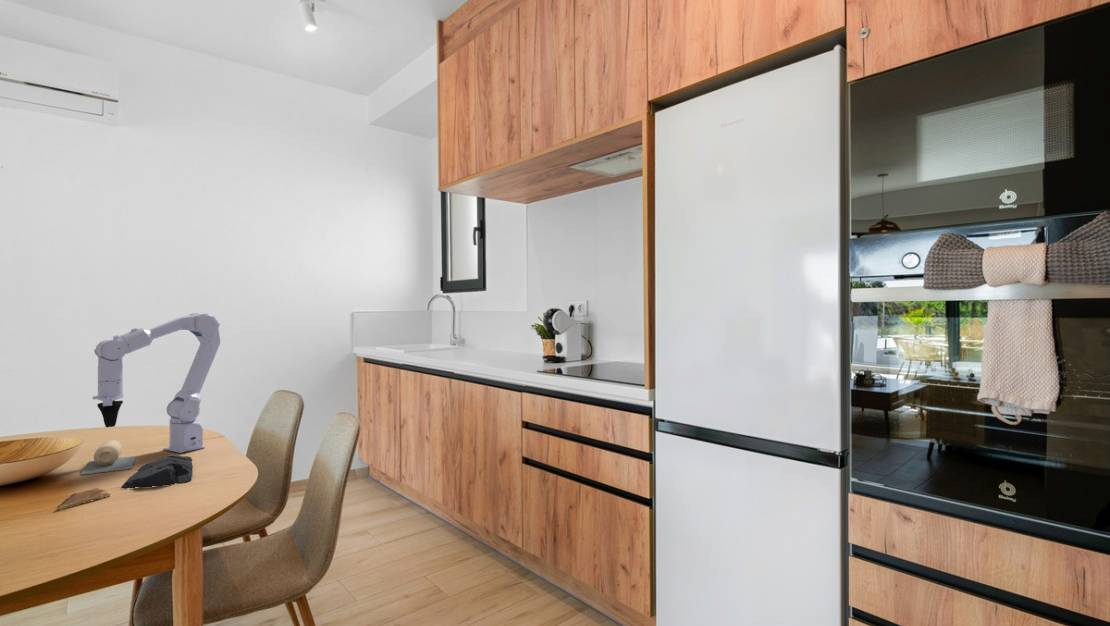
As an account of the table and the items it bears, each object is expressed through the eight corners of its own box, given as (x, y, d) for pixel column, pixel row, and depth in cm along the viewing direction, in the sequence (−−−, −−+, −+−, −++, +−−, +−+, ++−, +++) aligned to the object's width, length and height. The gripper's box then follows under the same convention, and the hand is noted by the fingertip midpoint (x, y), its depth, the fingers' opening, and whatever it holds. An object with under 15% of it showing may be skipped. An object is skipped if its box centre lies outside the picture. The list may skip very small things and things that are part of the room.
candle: (126, 451, 167) (121, 459, 158) (105, 461, 164) (99, 470, 156) (116, 436, 166) (111, 443, 157) (95, 446, 163) (88, 454, 154)
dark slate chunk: (201, 463, 164) (201, 447, 164) (190, 485, 144) (190, 467, 144) (137, 469, 157) (137, 453, 157) (117, 493, 137) (117, 474, 137)
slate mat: (89, 462, 161) (89, 461, 161) (136, 457, 168) (136, 456, 168) (80, 475, 149) (80, 474, 149) (131, 469, 155) (131, 468, 155)
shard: (56, 513, 124) (56, 505, 124) (38, 508, 127) (38, 500, 127) (111, 498, 134) (111, 491, 134) (93, 493, 137) (93, 486, 137)
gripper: (96, 378, 166) (96, 423, 166) (89, 384, 154) (89, 433, 154) (125, 377, 170) (125, 420, 170) (121, 382, 158) (121, 430, 158)
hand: (110, 426), depth 162 cm, fingers closed
